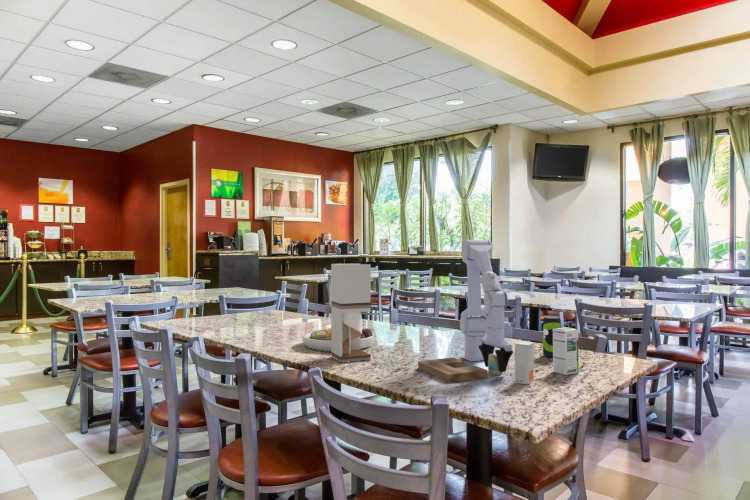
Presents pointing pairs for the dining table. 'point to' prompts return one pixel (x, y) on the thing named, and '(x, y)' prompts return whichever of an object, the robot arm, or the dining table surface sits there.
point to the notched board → (452, 369)
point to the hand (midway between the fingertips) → (495, 369)
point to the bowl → (323, 339)
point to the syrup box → (565, 351)
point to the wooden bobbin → (493, 365)
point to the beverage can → (549, 334)
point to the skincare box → (524, 362)
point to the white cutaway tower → (349, 309)
